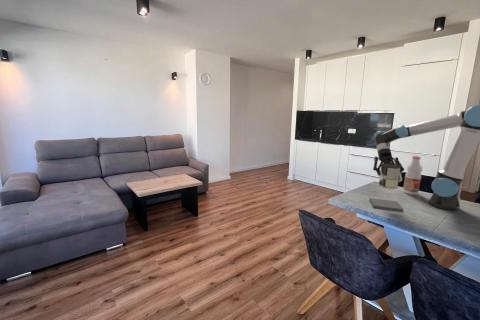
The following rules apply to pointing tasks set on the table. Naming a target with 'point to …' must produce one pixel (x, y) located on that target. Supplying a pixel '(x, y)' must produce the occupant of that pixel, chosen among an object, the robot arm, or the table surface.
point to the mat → (385, 204)
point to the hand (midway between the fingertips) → (391, 180)
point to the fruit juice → (413, 177)
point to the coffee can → (390, 175)
